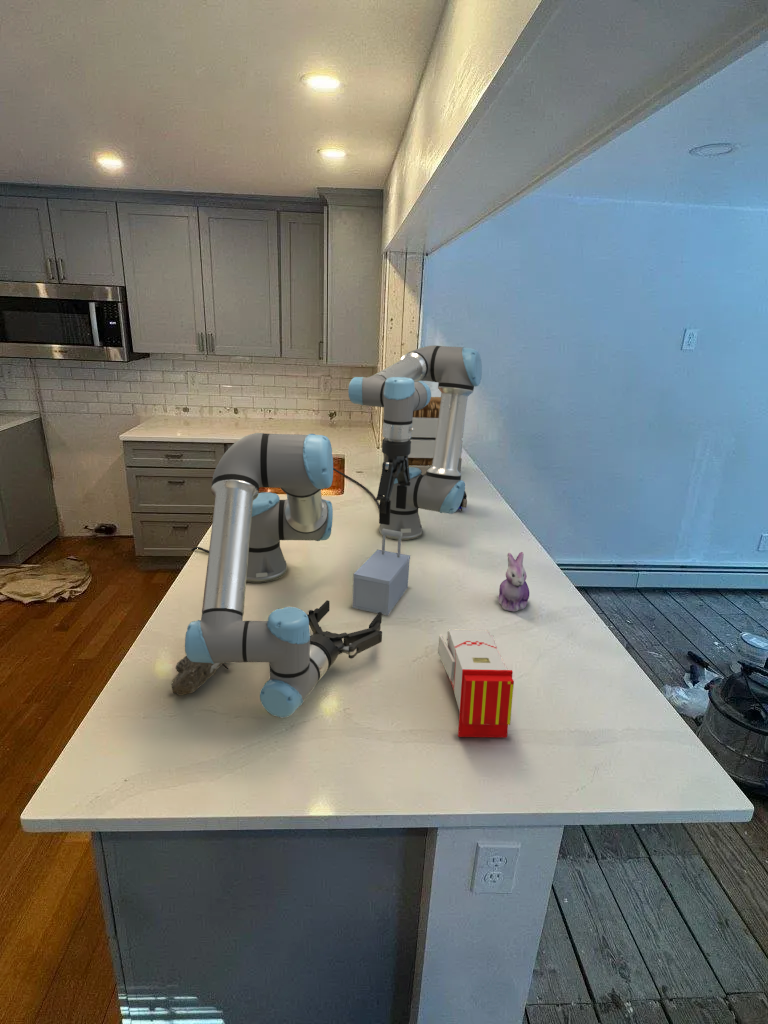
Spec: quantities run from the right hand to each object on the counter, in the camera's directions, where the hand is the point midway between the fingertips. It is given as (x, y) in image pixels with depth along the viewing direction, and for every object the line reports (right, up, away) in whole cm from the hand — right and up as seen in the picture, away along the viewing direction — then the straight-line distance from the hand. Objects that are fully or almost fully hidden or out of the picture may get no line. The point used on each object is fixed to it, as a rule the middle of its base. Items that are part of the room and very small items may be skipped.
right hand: (392, 515), depth 154 cm
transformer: (+15, +20, +121) cm, 124 cm away
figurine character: (+27, +3, +75) cm, 80 cm away
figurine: (+33, -24, +1) cm, 41 cm away
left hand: (-10, -23, -18) cm, 31 cm away
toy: (+16, -37, -35) cm, 53 cm away
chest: (-3, -22, +2) cm, 23 cm away
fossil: (-40, -33, -31) cm, 60 cm away
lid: (-3, -14, -1) cm, 14 cm away
